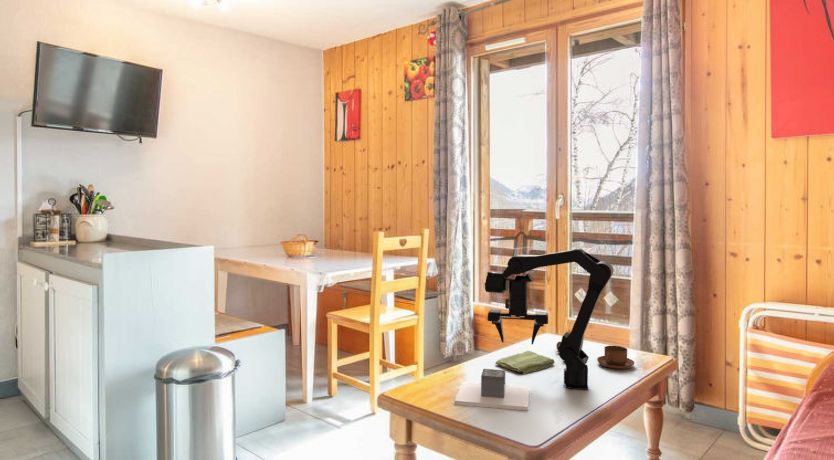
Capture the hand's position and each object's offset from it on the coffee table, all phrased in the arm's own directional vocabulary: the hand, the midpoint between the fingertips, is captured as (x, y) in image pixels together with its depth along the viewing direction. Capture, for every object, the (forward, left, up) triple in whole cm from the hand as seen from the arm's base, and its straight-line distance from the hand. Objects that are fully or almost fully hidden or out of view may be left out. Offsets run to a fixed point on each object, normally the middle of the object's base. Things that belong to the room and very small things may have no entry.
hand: (517, 343), depth 172 cm
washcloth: (-2, -13, -12) cm, 18 cm away
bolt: (-16, -28, -12) cm, 34 cm away
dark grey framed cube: (+6, +19, -10) cm, 22 cm away
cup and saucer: (-32, -20, -11) cm, 40 cm away
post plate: (+6, +19, -11) cm, 23 cm away
